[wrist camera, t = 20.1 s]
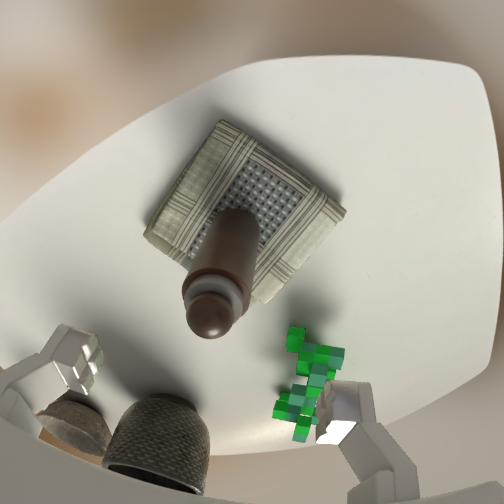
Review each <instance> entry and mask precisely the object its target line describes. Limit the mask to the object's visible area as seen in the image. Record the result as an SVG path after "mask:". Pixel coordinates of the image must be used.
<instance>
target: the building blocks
mask: <svg viewBox="0 0 504 504" xmlns="http://www.w3.org/2000/svg"><path fill="white" fill-rule="evenodd" d="M304 338H305V329H303V328H297V327H292V326H290V329H289V332H288V336H287V343H286V348H287V351H290V352H295V353H300V354H299V358H298V362H297V367H296V372H297V373H296V375H300V376H305V377H308V381H307V386H304V385H298V384H293V385H292V389H291V392H290V393H285V392H281V395H280V398H279V400H276V403H275V406H274V409H273V416H272V418H275V419H280V420H285V421H289V422H294V423H297V424H296V427H295V431H294V435H293V439H292V441H297V442H303V443H305V441H306V438H307V436H308V433H309V430H310V426H311V424H314V425H317V424H318V422H319V420H318V419H317V417H316V407H315V405H316V401H317V399H318V396H319V394H320V392H322V391H324V385H325V383H326V381H328V380H334V377H335V374H336V369H338V370H341V367H342V363H343V360H344V352H345V349H344V348H337V347H331V346H325V345H319V344H314V343H308V342H304ZM300 414H303V415H309V416H310V417H307V416H301V415H300Z"/></svg>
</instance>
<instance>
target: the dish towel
mask: <svg viewBox="0 0 504 504" xmlns="http://www.w3.org/2000/svg"><path fill="white" fill-rule="evenodd" d="M231 208H236V209H242V210H244V211H247V212H248V213H250V214H251V215H252V216H253V217H254V218H255V219H256V220H257V222H258V224H259V227H260V239H259V245H258V252H257V259H256V266H255V273H254V279H253V286H252V293H251V300H250V305H249V306H251V305H253V304H254V303H255V302H256V301H257V300H259V301H261V302H262V303H263V304H266V303H267V302H268V301H270V299H271V298H272V297H273V296H274V295H275V294H276V293H277V292H278V291H279V290H280V289H281V288H282V287H283V286H284V285H285V283H286V282H287V281H288V280H289V278H290V277H291V276H292V275H293V274H294V273H295V272H296V271H297V270H298V269H299V267H300V266H301V265H302V264H303V263H304V262H305V261H306V260H307V258H308V257H309V256H310V255H311V253H312V252H313V251H314V250H315V249H316V248H317V246H318V245H319V244H320V243H321V242H322V240H323V239H324V238H325V237H326V236H327V234H328V233H329V232H330V231H331V230H332V229H333V227H335V225H336V224H337V223H338V222H339V221H341V220H343V218H344V215H345V214H346V212H347V211H346V210H345V209H344V208H343V207H342V206H341V205H339V204H338V203H336V202H335V201H334V200H332V199H331V198H330V197H329V196H328V195H327V194H325V193H324V192H323V191H322V190H321V189H319V188H318V187H317V186H316V185H315V184H313V183H312V182H311V181H310V180H309V179H308V178H307V177H305V176H304V175H303V174H302V173H301V172H299V171H298V170H296V169H295V168H293V167H292V166H291V165H290V164H288V163H287V162H285V161H284V160H283V159H282V158H280V157H279V156H277V155H276V154H275V153H273V152H272V151H270V150H269V149H268V148H267V147H265V146H264V145H262V144H261V143H259V142H258V141H256V140H255V139H253V138H252V137H251V136H249V135H248V134H247V133H245V132H244V131H242V130H240V129H239V128H236V127H235V126H233V125H232V124H230V123H228V122H227V121H225V120H223V119H220V121H219V122H218V123H217V124H216V126H215V129H214V130H213V131H212V132H211V134H210V135H209V136H208V138H207V139H206V140H205V142H204V143H203V144H202V146H201V147H200V149H199V150H198V151H197V153H196V154H195V156H194V157H193V158H192V159H191V161H190V162H189V163H188V165H187V166H186V168H185V169H184V170H183V172H182V173H181V175H180V176H179V178H178V179H177V181H176V182H175V184H174V185H173V187H172V188H171V190H170V191H169V193H168V194H167V196H166V198H165V199H164V200H163V202H162V203H161V205H160V206H159V208H158V210H157V211H156V212H155V214H154V216H153V217H152V219H151V222H150V224H149V225H148V227H147V229H146V230H145V232H144V234H143V236H144V237H145V238H146V239H147V240H148V241H149V243H151V244H152V245H153V246H154V247H155V248H157V249H159V250H160V251H162V252H163V253H164V254H166V255H168V256H169V257H170V258H172V259H173V260H175V261H176V262H177V263H179V264H180V265H181V266H183V267H184V268H185V269H186V270H187V271H189V269H190V267H191V265H192V263H193V261H194V259H195V257H196V254H197V252H198V250H199V248H200V246H201V244H202V242H203V239H204V237H205V235H206V233H207V231H208V229H209V227H210V225H211V223H212V221H213V219H214V217H215V216H216V215H217V214H218V213H220V212H221V211H223V210H226V209H231Z"/></svg>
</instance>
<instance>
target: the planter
mask: <svg viewBox="0 0 504 504" xmlns="http://www.w3.org/2000/svg"><path fill="white" fill-rule="evenodd" d="M209 454H210V437H209V432H208V429H207V427H206V425H205V423H204V421H203V420H202V419H201V417H200V416H199V415H198V414H197V411H196V409H195V408H194V407H193V406H192V405H191V404H190V403H189V402H187V401H186V400H184V399H182V398H179V397H176V396H173V395H168V394H156V395H153V396H151V397H149V398H148V399H143V400H140V401H138V402H136V403H134V404H133V405H131V406H130V407H129V408H128V409H127V410H126V411H125V413H124V414H123V416H122V417H121V419H120V421H119V423H118V425H117V427H116V429H115V431H114V434H113V436H112V438H111V440H110V443H109V445H108V447H107V450H106V453H105V455H104V458H103V460H102V467H103V468H105V469H108V470H111V471H113V472H116V473H119V474H122V475H125V476H128V477H131V478H134V479H137V480H140V481H144V482H147V483H151V484H154V485H158V486H161V487H165V488H169V489H173V490H177V491H181V492H186V493H190V494H195V495H200V496H203V494H204V490H205V483H206V477H207V470H208V462H209Z"/></svg>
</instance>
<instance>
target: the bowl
mask: <svg viewBox="0 0 504 504" xmlns="http://www.w3.org/2000/svg"><path fill="white" fill-rule="evenodd" d="M38 419H39V420H40V421H41V422H42V424H43V427H44V428H45V429H46V430H47V431H48V432H50V433H51V434H52V435H54V436H55V437H56V438H58V439H59V440H61V441H63V442H64V443H66V444H67V445H69V446H72V447H73V448H76V449H78V450H80V451H82V452H85V453H88V454H90V455H94V456H99V457H104V455H105V453H106V450H107V447H108V445H109V443H110V440H111V438H112V435H111V433H110V430H109V428H108V426H107V424H106V422H105V420H104V419H103V418H102V416H100V415H99V414H98V413H97V412H96V411H94V410H93V409H91V408H89V407H87V406H85V405H82V404H80V403H77V402H73V401H69V400H65V401H56V402H53V403H51V404H49V406H48V407H47V408H46V410H45V411H43V412H42V413H41V414H39V417H38Z"/></svg>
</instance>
